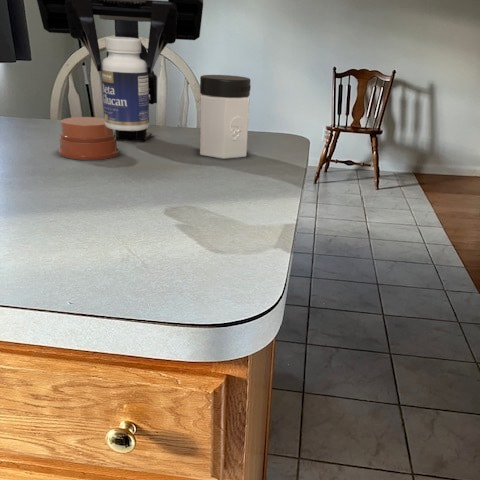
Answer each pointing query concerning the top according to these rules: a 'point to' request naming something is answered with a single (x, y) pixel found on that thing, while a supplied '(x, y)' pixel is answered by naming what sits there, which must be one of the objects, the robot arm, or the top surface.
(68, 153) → the cup stack
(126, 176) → the top surface
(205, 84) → the jar
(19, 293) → the top surface
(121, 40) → the pill bottle
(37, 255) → the top surface
